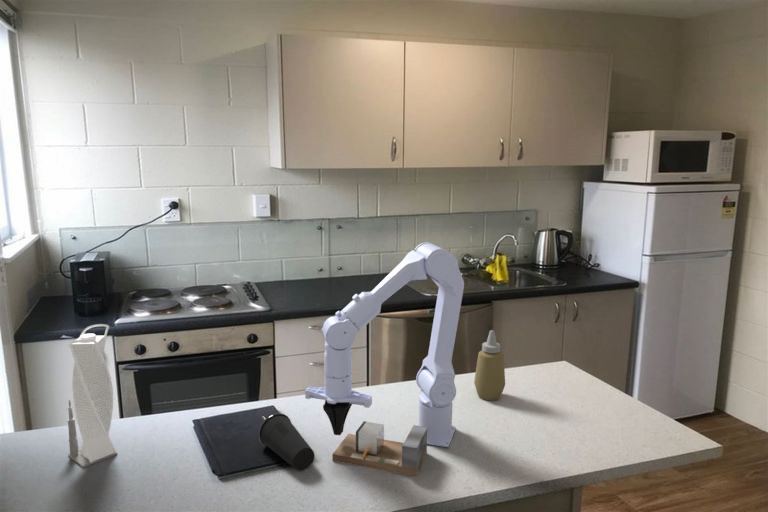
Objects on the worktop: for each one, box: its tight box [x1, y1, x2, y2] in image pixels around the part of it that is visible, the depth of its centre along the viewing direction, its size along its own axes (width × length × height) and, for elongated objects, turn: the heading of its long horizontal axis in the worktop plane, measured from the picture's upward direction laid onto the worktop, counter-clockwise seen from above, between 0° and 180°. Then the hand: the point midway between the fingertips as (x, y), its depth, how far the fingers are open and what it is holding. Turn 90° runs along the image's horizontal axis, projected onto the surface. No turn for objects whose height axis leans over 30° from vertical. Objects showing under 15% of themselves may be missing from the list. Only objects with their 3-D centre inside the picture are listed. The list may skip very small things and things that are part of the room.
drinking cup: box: [258, 412, 315, 472], centre depth 123 cm, size 8×8×20 cm
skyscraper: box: [67, 323, 118, 469], centre depth 119 cm, size 8×8×28 cm
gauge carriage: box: [355, 420, 385, 457], centre depth 121 cm, size 7×5×4 cm, turn 163°
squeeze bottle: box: [473, 329, 506, 401], centre depth 151 cm, size 8×8×18 cm
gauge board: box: [331, 424, 428, 477], centre depth 121 cm, size 9×18×6 cm, turn 73°
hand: (338, 432), depth 124 cm, fingers closed
